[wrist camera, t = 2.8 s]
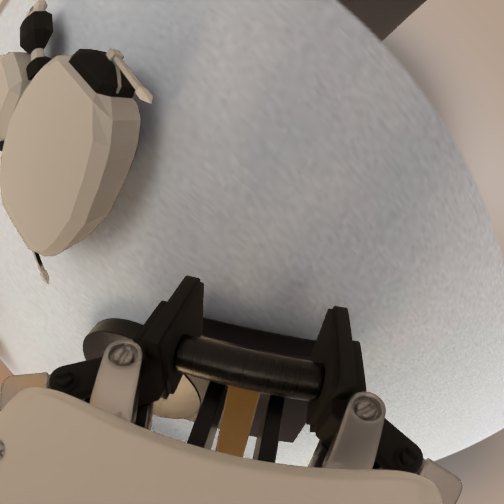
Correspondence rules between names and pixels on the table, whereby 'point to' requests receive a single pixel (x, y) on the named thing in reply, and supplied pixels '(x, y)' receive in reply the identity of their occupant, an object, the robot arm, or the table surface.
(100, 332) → the desk lamp
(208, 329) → the black pivot bracket
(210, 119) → the table surface
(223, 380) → the switch lever
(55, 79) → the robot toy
